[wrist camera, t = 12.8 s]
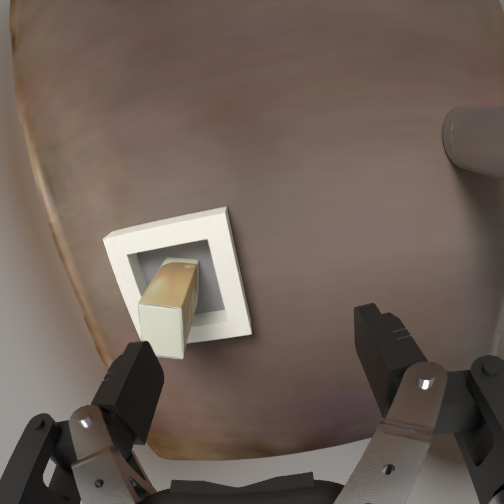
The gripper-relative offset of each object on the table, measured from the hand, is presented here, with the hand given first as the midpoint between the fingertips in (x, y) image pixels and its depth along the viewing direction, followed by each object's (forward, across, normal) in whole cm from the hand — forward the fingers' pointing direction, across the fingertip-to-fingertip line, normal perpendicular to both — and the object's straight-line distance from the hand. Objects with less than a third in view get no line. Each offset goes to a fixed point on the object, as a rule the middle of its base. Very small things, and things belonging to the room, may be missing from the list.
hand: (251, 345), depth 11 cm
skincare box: (+26, +11, +8) cm, 29 cm away
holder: (+26, +11, +8) cm, 29 cm away
